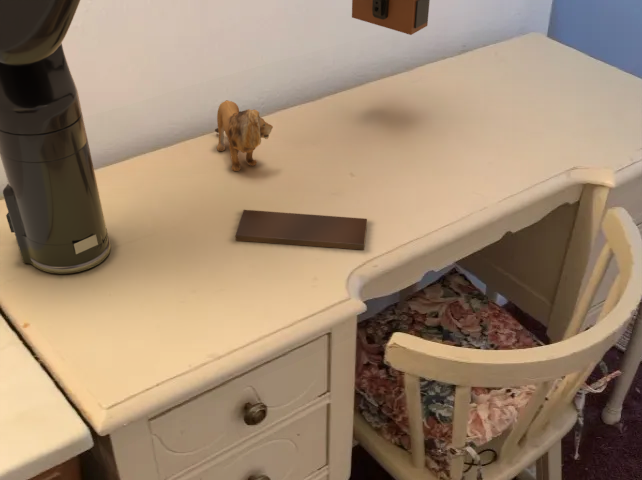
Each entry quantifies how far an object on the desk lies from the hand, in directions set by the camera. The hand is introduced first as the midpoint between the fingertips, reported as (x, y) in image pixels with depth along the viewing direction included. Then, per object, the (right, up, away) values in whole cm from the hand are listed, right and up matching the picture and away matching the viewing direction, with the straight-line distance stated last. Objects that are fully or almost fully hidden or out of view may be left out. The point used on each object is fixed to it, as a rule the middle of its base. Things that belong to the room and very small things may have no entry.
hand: (390, 12), depth 118 cm
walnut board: (-11, -33, -12) cm, 37 cm away
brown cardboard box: (0, -1, +1) cm, 1 cm away
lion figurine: (-21, -20, +1) cm, 29 cm away
